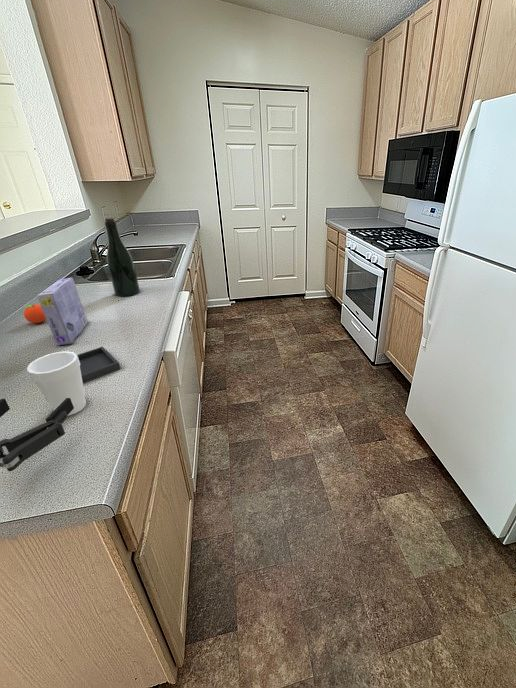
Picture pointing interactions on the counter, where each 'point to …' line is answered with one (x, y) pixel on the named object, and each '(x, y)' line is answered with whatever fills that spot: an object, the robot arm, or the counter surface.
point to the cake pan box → (63, 310)
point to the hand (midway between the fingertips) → (38, 403)
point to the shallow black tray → (96, 363)
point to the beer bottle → (120, 263)
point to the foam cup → (59, 379)
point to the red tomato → (34, 313)
